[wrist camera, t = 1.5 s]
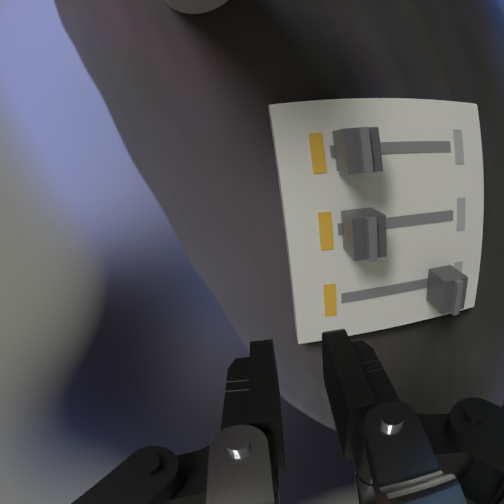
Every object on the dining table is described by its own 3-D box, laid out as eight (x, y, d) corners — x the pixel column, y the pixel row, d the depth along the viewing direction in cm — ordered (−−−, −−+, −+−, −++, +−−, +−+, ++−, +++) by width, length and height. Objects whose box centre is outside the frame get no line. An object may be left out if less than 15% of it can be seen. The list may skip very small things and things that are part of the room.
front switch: (363, 129, 21) (381, 126, 18) (368, 168, 22) (386, 171, 19) (332, 131, 21) (345, 127, 18) (337, 171, 22) (350, 174, 19)
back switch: (450, 264, 24) (471, 279, 21) (447, 294, 25) (467, 311, 22) (428, 269, 24) (449, 285, 21) (426, 299, 25) (444, 317, 22)
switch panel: (464, 105, 22) (477, 103, 20) (464, 298, 28) (474, 307, 26) (268, 108, 23) (269, 104, 21) (295, 332, 29) (298, 344, 27)
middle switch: (371, 207, 23) (389, 216, 19) (372, 244, 24) (389, 259, 20) (340, 210, 23) (354, 221, 20) (343, 248, 24) (356, 264, 21)
